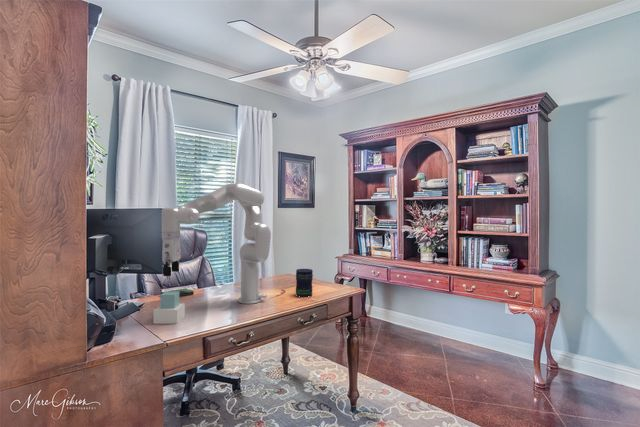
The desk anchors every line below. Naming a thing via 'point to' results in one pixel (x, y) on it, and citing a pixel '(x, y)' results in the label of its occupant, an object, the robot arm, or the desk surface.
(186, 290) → the disk drive
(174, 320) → the cream block
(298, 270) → the storage jar
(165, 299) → the teal cube
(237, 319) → the desk surface
